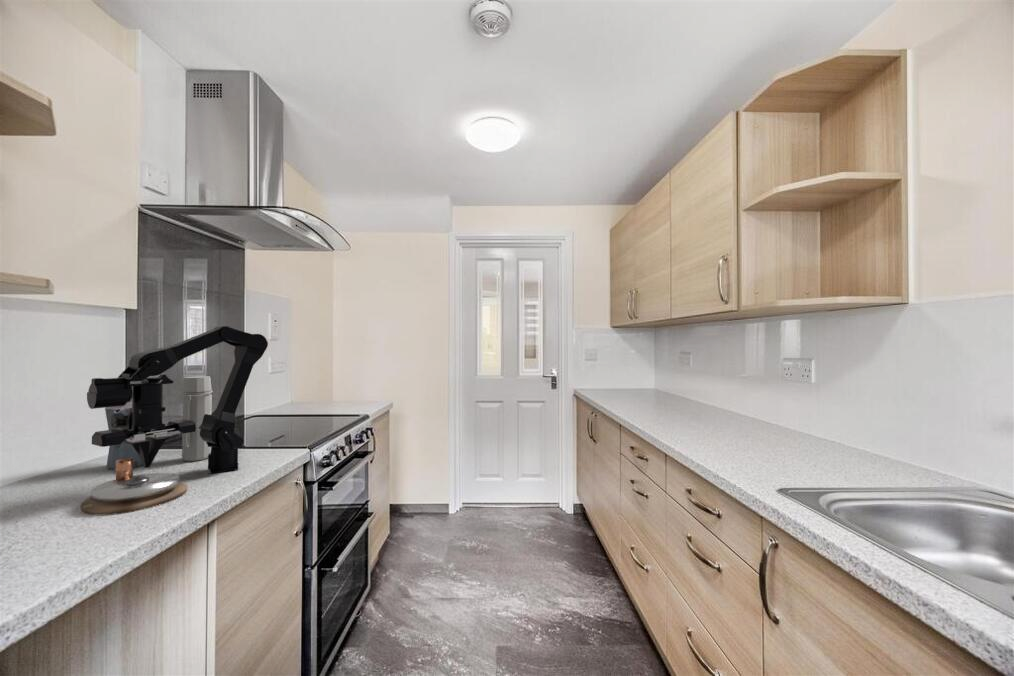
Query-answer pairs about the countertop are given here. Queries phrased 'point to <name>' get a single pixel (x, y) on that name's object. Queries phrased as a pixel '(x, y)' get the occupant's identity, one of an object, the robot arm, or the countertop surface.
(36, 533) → the countertop surface
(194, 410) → the water bottle
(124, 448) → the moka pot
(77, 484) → the countertop surface
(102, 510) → the wheel base
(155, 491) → the handwheel
